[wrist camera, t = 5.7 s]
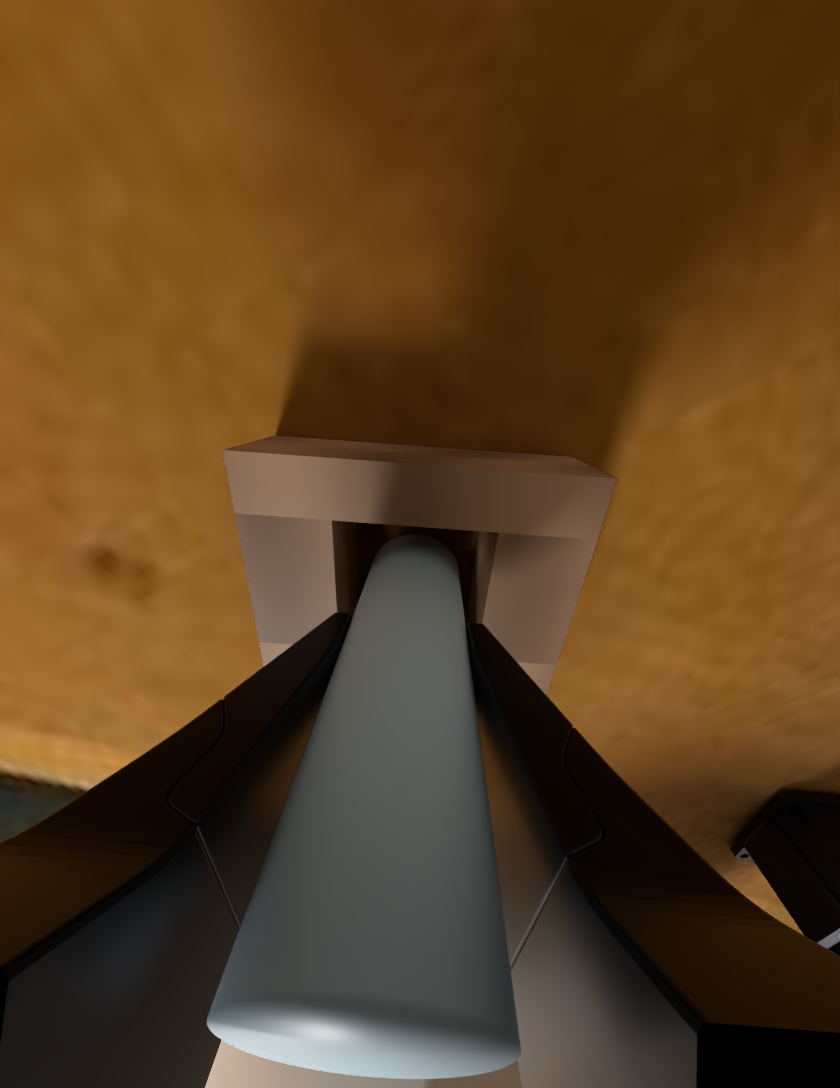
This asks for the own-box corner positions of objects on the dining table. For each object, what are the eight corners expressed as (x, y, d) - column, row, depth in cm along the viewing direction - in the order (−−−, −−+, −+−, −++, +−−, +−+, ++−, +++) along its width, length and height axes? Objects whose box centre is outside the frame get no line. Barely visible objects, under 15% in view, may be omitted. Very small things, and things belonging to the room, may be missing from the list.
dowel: (463, 537, 11) (555, 1012, 3) (453, 612, 12) (493, 1088, 4) (371, 530, 11) (168, 979, 3) (371, 605, 12) (236, 1064, 4)
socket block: (571, 456, 11) (617, 478, 8) (524, 641, 14) (545, 700, 12) (275, 435, 11) (222, 450, 8) (297, 624, 14) (266, 678, 12)
